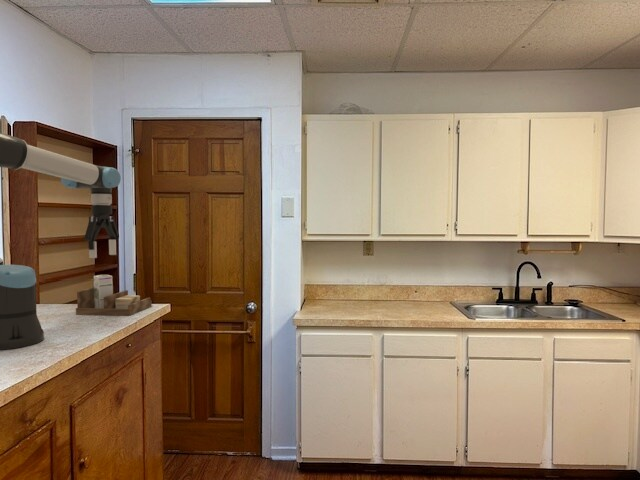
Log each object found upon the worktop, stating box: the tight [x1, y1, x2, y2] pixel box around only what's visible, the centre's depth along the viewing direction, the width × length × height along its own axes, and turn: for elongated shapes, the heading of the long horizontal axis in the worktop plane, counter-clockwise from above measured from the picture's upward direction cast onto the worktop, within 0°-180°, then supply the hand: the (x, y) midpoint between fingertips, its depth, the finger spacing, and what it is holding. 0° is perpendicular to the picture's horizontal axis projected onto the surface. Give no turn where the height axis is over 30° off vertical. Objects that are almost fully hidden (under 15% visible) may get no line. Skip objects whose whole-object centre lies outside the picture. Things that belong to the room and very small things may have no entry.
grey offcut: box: [116, 306, 128, 309], centre depth 172 cm, size 8×6×3 cm
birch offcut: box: [115, 294, 141, 307], centre depth 173 cm, size 8×6×3 cm
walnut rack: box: [75, 286, 153, 317], centre depth 173 cm, size 18×22×9 cm
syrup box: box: [93, 274, 114, 308], centre depth 173 cm, size 6×6×14 cm
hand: (103, 256), depth 173 cm, fingers open, 13 cm apart
